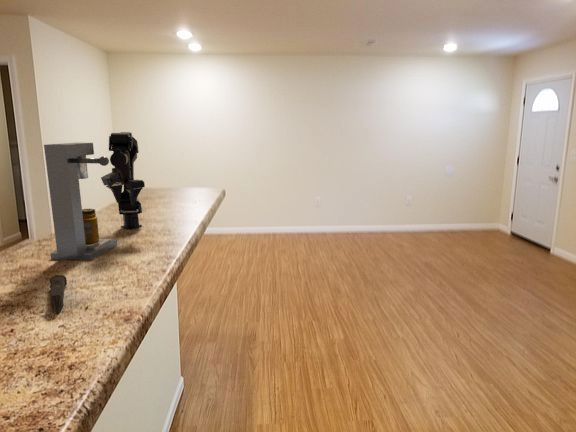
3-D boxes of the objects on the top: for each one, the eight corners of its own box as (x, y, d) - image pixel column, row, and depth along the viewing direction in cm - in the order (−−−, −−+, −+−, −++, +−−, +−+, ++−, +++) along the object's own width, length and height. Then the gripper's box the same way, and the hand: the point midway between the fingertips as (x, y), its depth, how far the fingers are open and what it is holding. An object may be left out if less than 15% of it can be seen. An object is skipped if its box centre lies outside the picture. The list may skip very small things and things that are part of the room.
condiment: (104, 239, 148) (101, 208, 146) (92, 246, 140) (88, 213, 137) (85, 239, 149) (81, 207, 146) (71, 246, 140) (68, 212, 138)
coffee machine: (81, 243, 152) (70, 142, 144) (139, 245, 151) (131, 142, 142) (48, 260, 133) (33, 144, 125) (113, 262, 132) (102, 145, 123)
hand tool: (51, 288, 111) (48, 273, 110) (67, 286, 113) (65, 270, 112) (44, 318, 94) (41, 299, 93) (63, 314, 96) (60, 296, 95)
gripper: (89, 165, 157) (93, 204, 160) (118, 168, 147) (122, 209, 150) (114, 163, 166) (118, 200, 169) (144, 165, 156) (146, 205, 160)
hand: (125, 203), depth 162 cm, fingers open, 9 cm apart
